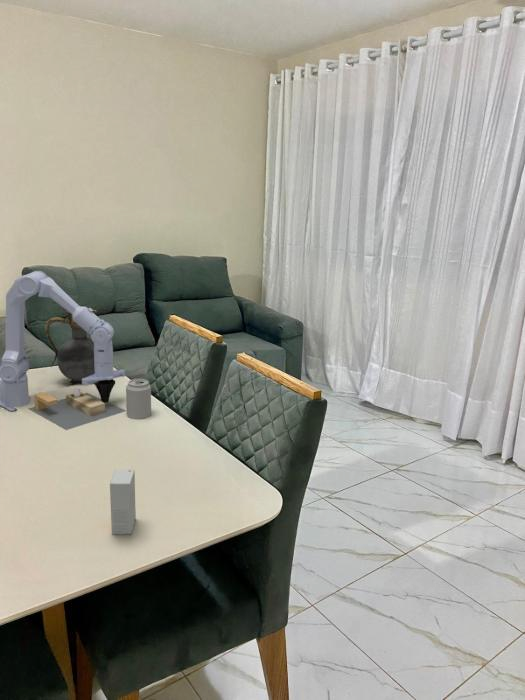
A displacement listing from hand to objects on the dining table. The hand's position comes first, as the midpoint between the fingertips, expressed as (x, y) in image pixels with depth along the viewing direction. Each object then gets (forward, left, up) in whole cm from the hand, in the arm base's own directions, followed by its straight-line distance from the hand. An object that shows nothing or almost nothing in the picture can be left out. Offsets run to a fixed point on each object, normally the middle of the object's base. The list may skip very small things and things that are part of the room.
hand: (104, 401), depth 175 cm
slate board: (-2, -8, -2) cm, 9 cm away
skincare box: (+58, -35, -2) cm, 67 cm away
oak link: (-2, -6, -1) cm, 6 cm away
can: (+14, +3, -2) cm, 14 cm away
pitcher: (-26, +6, -2) cm, 27 cm away
